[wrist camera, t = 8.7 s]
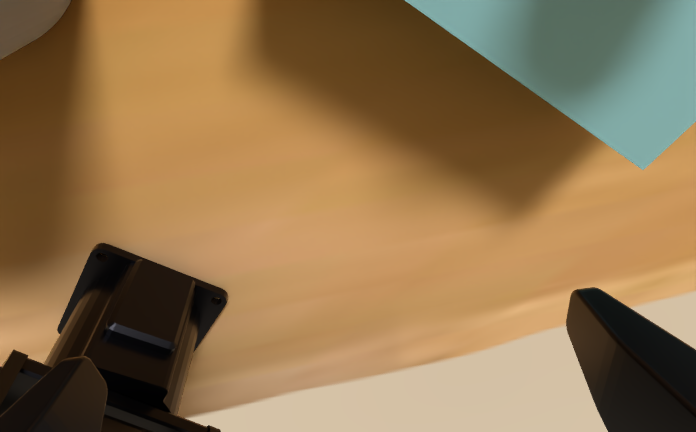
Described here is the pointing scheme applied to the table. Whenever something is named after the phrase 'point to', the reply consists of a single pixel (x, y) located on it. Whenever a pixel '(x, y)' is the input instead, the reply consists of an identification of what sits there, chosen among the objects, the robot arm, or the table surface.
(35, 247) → the table surface
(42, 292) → the table surface
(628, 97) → the socket block
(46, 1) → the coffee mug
